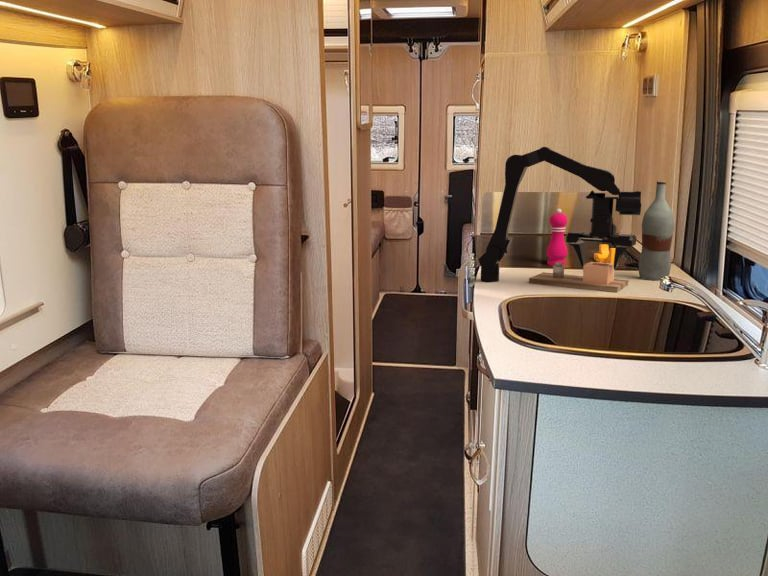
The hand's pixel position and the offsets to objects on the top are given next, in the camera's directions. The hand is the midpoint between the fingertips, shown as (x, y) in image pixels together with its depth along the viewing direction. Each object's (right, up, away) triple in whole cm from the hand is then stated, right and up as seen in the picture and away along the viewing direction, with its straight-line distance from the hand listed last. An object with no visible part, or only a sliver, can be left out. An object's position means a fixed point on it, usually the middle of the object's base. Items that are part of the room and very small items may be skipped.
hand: (598, 268), depth 182 cm
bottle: (+22, -3, +13) cm, 25 cm away
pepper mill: (-2, +2, +38) cm, 38 cm away
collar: (0, -4, +1) cm, 4 cm away
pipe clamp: (+16, +2, +40) cm, 43 cm away
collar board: (-5, -5, +4) cm, 8 cm away
